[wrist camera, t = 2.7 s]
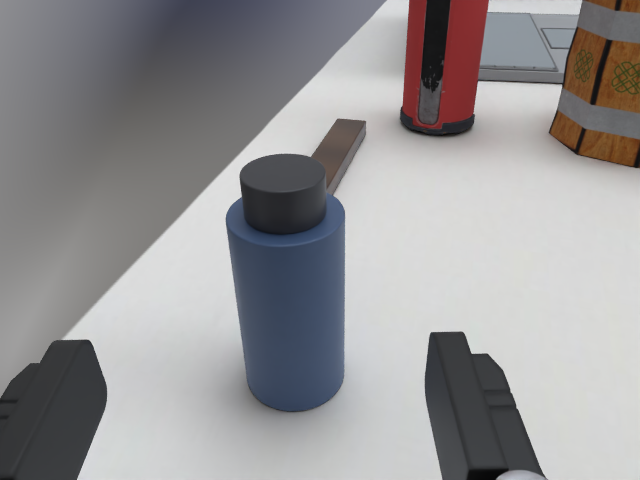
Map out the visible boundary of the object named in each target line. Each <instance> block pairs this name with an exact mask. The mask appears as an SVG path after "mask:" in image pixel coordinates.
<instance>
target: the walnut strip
mask: <svg viewBox="0 0 640 480" xmlns="http://www.w3.org/2000/svg"><path fill="white" fill-rule="evenodd" d="M365 134H366V121H360V120H349V119H337V120H336V122H335V123H334V125H333V126H332V127H331V129H330V130H329V132H328V133H327V135H326V136H325V137H324V139H323V140H322V142H321V143H320V145H319V146H318V148H317V149H316V150H315V152H314V153H313V155H312V156H311V158H314V159H316V160H318V161H319V162H321V163H322V164H323V166H324V167H325V170H326V192H327V193H329V194H331V195H333V193H334V191H335V189H336V187H337V186H338V184H339V182H340V180H341V178H342V176H343V175H344V173H345V171H346V169H347V167H348V165H349V164H350V162H351V160H352V158H353V156H354V154H355V153H356V151H357V149H358V147H359V145H360V143H361V142H362V140H363V138H364V136H365Z"/></svg>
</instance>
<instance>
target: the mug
mask: <svg viewBox="0 0 640 480" xmlns="http://www.w3.org/2000/svg"><path fill="white" fill-rule="evenodd" d="M549 133H550V134H551V135H552V136H554V137H555V138H556V139H557V140H559V141H560V142H561V143H563V144H564V145H565V146H567V147H568V148H569V149H571V150H572V151H573V152H575V153H576V154H579V155H583V156H588V157H592V158H597V159H601V160H606V161H610V162H615V163H619V164H624V165H628V166H632V167H640V0H582V5H581V9H580V14H579V18H578V22H577V27H576V30H575V33H574V36H573V39H572V42H571V45H570V48H569V51H568V54H567V57H566V64H565V71H564V78H563V85H562V90H561V95H560V99H559V103H558V108H557V111H556V114H555V117H554V119H553V122H552V125H551V128H550V130H549Z"/></svg>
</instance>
